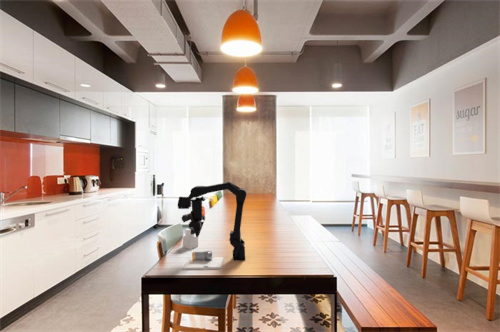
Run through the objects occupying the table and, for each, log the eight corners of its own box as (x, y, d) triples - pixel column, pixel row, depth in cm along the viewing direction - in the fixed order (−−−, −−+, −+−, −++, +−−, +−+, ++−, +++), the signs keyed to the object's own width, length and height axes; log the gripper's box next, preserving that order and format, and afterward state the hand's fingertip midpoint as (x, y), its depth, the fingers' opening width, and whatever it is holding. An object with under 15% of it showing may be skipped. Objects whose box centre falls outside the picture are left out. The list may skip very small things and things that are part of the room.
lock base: (223, 258, 160) (223, 256, 160) (221, 268, 146) (221, 266, 146) (188, 259, 160) (188, 257, 160) (182, 269, 146) (182, 267, 146)
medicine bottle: (191, 244, 187) (190, 226, 186) (198, 246, 182) (198, 228, 182) (182, 247, 181) (182, 228, 181) (189, 249, 177) (189, 230, 176)
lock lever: (212, 258, 158) (212, 251, 158) (211, 260, 154) (211, 253, 154) (193, 258, 158) (193, 251, 158) (192, 261, 154) (192, 253, 154)
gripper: (186, 205, 169) (186, 231, 170) (178, 212, 150) (179, 241, 151) (205, 205, 169) (205, 231, 170) (199, 212, 150) (200, 241, 151)
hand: (197, 236), depth 160 cm, fingers open, 3 cm apart
